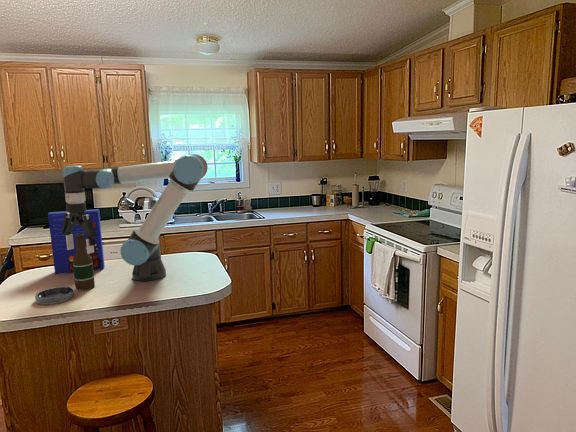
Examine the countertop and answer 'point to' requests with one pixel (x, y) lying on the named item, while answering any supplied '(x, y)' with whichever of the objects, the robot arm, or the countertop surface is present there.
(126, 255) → the robot arm
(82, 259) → the beer bottle
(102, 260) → the cereal box
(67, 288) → the dark grey shallow dish
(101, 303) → the countertop surface
